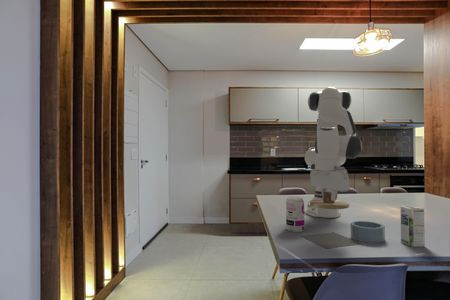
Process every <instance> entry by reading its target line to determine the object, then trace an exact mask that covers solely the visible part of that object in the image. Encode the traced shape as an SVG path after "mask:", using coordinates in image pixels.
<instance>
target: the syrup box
mask: <svg viewBox="0 0 450 300" xmlns="http://www.w3.org/2000/svg"><path fill="white" fill-rule="evenodd" d="M425 231H426V230H425V208H421V207H418V206H417V207H416V206H413V205H401V206H400V244H404V245H406V246H409V247H411V248H420V247H425V245H426V243H425V241H426V239H425V237H426V236H425V233H426V232H425Z"/></svg>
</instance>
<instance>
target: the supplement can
mask: <svg viewBox="0 0 450 300" xmlns="http://www.w3.org/2000/svg"><path fill="white" fill-rule="evenodd" d="M304 210H305V201H304V199H303V198H302V197H297V196H291V197H290V196H289V197H287V198H286V200H285V212H286V213H285V219H286V220H285V225H286V227H285V228H286V230H287V231H289V232H293V233H294V232H295V233H301V232H303V231H305V228H306V227H305V212H304Z"/></svg>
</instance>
